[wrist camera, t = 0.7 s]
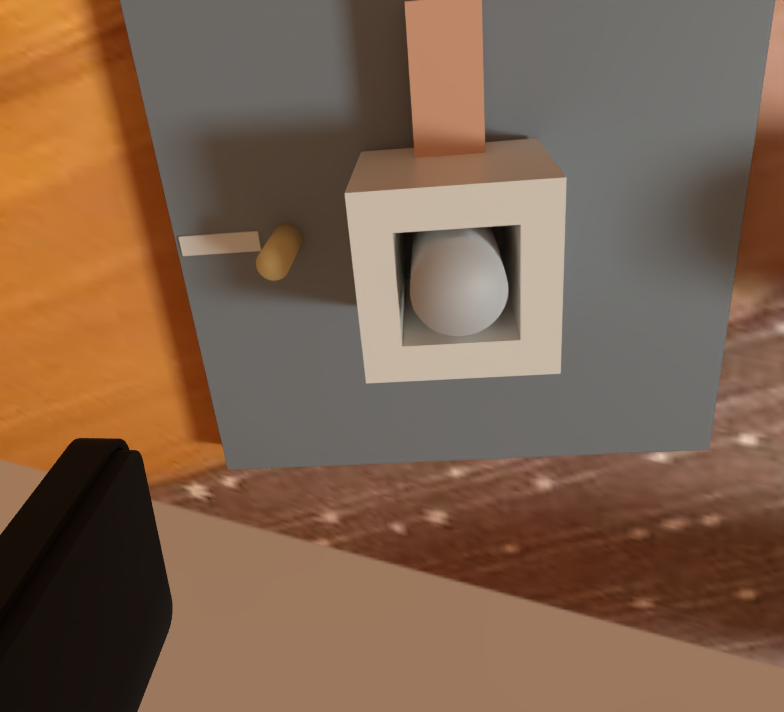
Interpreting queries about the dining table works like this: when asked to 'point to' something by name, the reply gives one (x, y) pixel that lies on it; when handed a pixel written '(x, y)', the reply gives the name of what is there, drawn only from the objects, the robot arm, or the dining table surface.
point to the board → (539, 82)
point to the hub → (456, 216)
